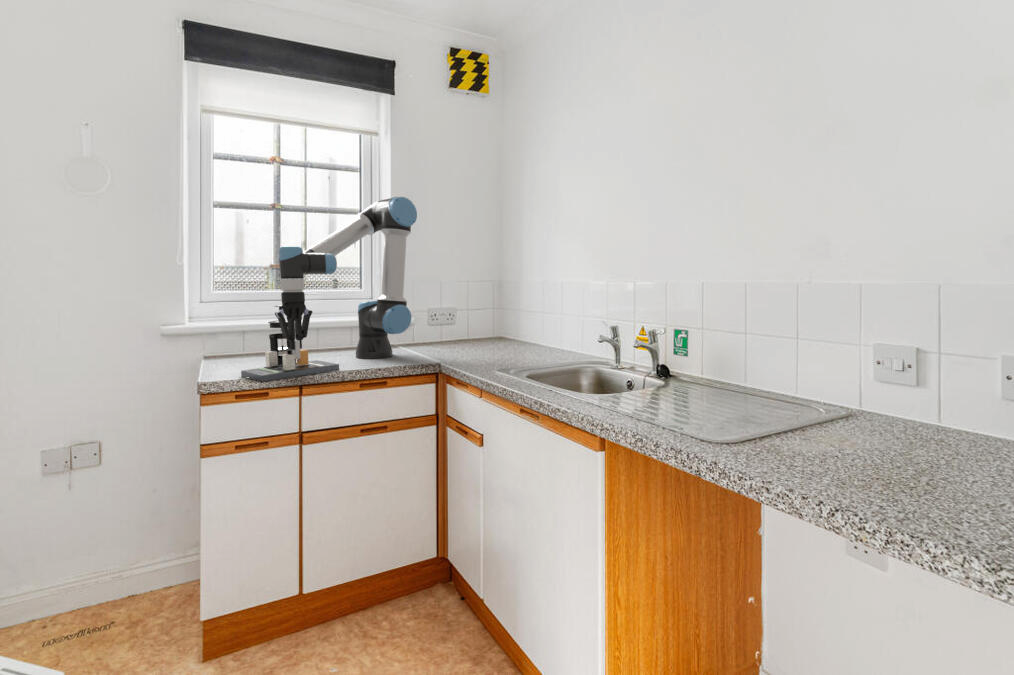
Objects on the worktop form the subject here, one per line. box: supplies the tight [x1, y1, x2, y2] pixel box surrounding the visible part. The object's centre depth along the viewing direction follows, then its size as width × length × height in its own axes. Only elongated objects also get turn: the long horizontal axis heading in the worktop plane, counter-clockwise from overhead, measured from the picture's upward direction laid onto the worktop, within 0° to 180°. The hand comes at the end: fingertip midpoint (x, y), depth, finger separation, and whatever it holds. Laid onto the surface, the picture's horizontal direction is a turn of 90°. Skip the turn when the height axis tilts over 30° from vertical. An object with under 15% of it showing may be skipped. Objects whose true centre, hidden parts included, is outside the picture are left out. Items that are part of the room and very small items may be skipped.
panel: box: [240, 350, 340, 383], centre depth 184 cm, size 28×15×8 cm, turn 140°
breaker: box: [296, 349, 309, 365], centre depth 187 cm, size 3×2×5 cm
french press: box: [267, 304, 297, 365], centre depth 199 cm, size 12×9×23 cm
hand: (296, 358), depth 185 cm, fingers closed
